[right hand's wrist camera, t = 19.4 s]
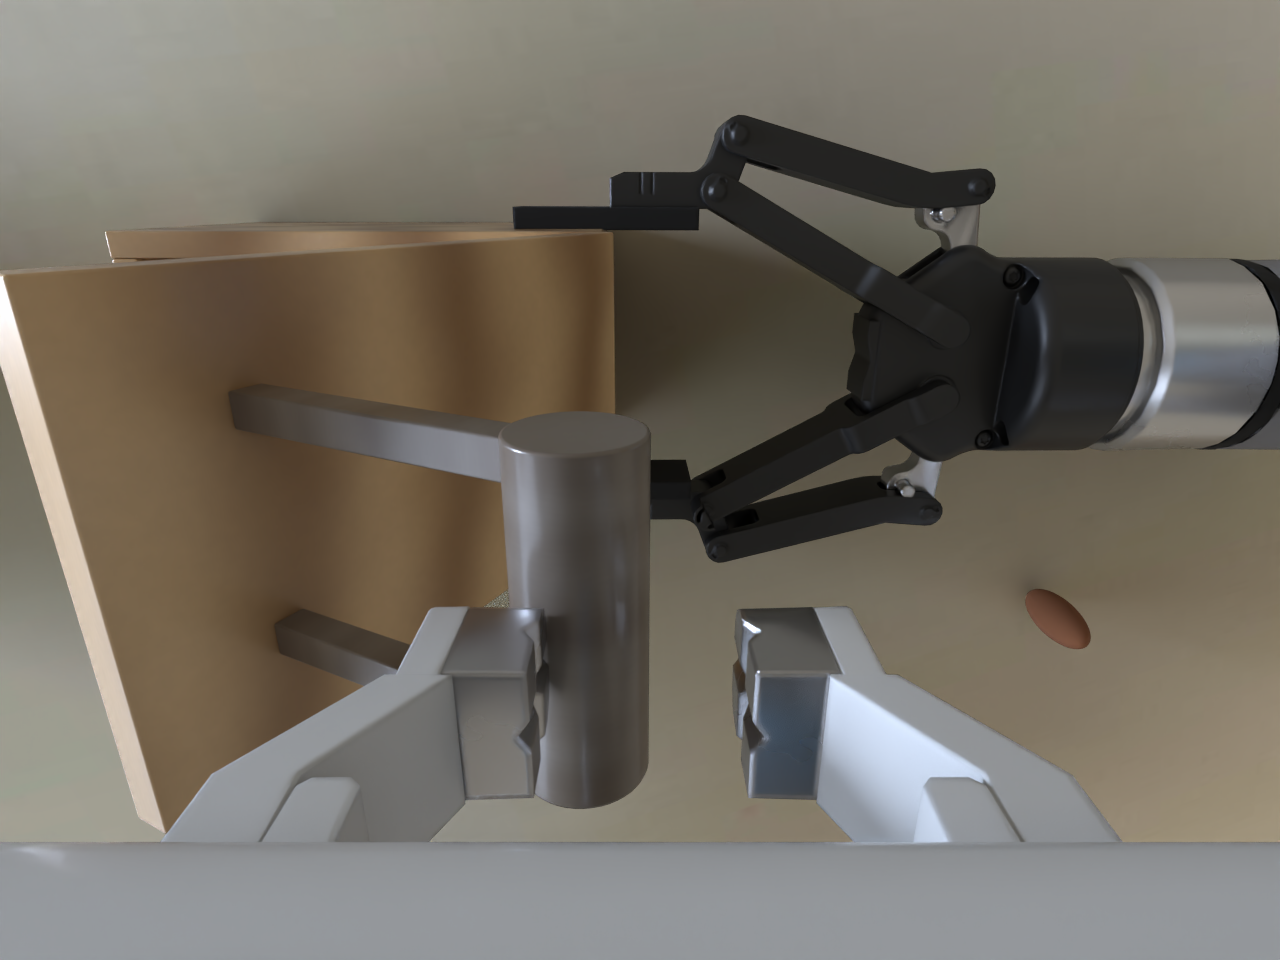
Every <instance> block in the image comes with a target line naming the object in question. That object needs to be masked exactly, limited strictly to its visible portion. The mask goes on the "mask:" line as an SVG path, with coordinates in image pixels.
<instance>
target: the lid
mask: <svg viewBox="0 0 1280 960" xmlns="http://www.w3.org/2000/svg"><path fill="white" fill-rule="evenodd" d="M0 365H1V368H2V372H3V375H4V378H5V382H6V385H7V388H8V391H9V395H10V398H11V401H12V404H13V408H14V411H15V414H16V418H17V421H18V424H19V427H20V431H21V434H22V437H23V440H24V444H25V447H26V450H27V453H28V457H29V460H30V463H31V467H32V470H33V473H34V476H35V480H36V483H37V486H38V489H39V493H40V496H41V499H42V503H43V506H44V509H45V512H46V516H47V519H48V522H49V525H50V529H51V532H52V535H53V539H54V542H55V545H56V548H57V552H58V555H59V558H60V561H61V565H62V568H63V571H64V575H65V578H66V581H67V584H68V588H69V591H70V594H71V597H72V601H73V604H74V607H75V611H76V614H77V617H78V620H79V624H80V627H81V630H82V633H83V637H84V640H85V643H86V646H87V650H88V653H89V656H90V660H91V663H92V666H93V669H94V673H95V676H96V679H97V682H98V686H99V689H100V692H101V696H102V699H103V702H104V705H105V709H106V712H107V715H108V718H109V722H110V725H111V728H112V732H113V735H114V738H115V741H116V745H117V748H118V751H119V754H120V758H121V761H122V764H123V768H124V771H125V774H126V777H127V781H128V784H129V787H130V790H131V794H132V797H133V800H134V804H135V807H136V810H137V813H138V817H139V818H140V819H142V820H143V821H145V822H147V823H148V824H150V825H152V826H153V827H155V828H157V829H158V830H160V831H162V832H164V833H165V834H167V833H168V831H169V830H170V829H171V827H172V826H173V825H174V823H175V822H176V821H177V819H178V818H179V817H180V815H181V814H182V813H183V811H184V810H185V809H186V807H187V806H188V805H189V803H190V802H191V801H192V799H193V798H194V797H195V795H196V794H197V793H198V791H199V790H200V789H201V787H202V786H203V785H204V783H205V782H206V781H207V779H208V778H209V777H210V775H211V774H212V773H214V772H216V771H218V770H219V769H221V768H223V767H225V766H226V765H228V764H230V763H232V762H233V761H235V760H237V759H238V758H240V757H242V756H244V755H245V754H247V753H249V752H251V751H252V750H254V749H256V748H258V747H259V746H261V745H263V744H265V743H266V742H268V741H270V740H272V739H273V738H275V737H277V736H278V735H280V734H282V733H284V732H285V731H287V730H289V729H291V728H292V727H294V726H296V725H298V724H299V723H301V722H303V721H305V720H306V719H308V718H310V717H311V716H313V715H315V714H317V713H318V712H320V711H322V710H324V709H325V708H327V707H329V706H331V705H332V704H334V703H336V702H338V701H339V700H341V699H343V698H344V697H346V696H348V695H350V694H351V693H353V692H355V691H357V690H358V689H360V688H362V687H364V686H365V685H367V684H369V683H371V682H372V681H374V680H376V679H378V678H379V677H381V676H383V675H395V674H396V673H397V671H398V669H399V667H400V665H401V663H402V661H403V659H404V657H405V655H406V653H407V651H408V650H409V648H410V646H411V644H412V642H413V640H414V638H415V636H416V634H417V632H418V630H419V628H420V627H421V625H422V623H423V621H424V619H425V617H426V615H427V613H428V611H429V610H430V609H431V608H434V607H460V606H468V607H470V608H472V607H484V606H485V605H487V604H488V603H489V602H491V601H492V600H494V599H495V598H496V597H498V596H499V595H501V594H502V593H503V592H505V591H506V590H507V589H508V592H509V606H510V608H544V611H545V615H546V626H547V641H546V646H545V651H544V656H543V659H544V660H545V662H546V663H547V664H548V665H549V709H548V721H547V727H546V734H545V736H544V737H543V738H541V739H540V751H541V762H540V767H539V773H538V778H537V783H536V789H535V794H536V795H537V796H538V797H540V798H541V799H543V800H545V801H547V802H549V803H551V804H554V805H557V806H561V807H565V808H573V809H587V808H595V807H601V806H604V805H608V804H611V803H613V802H615V801H618V800H620V799H621V798H623V797H625V796H626V795H628V794H629V793H630V792H632V791H633V790H634V789H635V788H636V787H637V786H638V784H639V783H640V782H641V780H642V779H643V777H644V775H645V773H646V770H647V767H648V752H649V612H650V472H651V433H650V431H649V428H648V427H647V426H646V425H645V424H643V423H642V422H640V421H638V420H635V419H633V418H629V417H626V416H622V415H617V414H615V338H614V242H613V233H612V232H581V233H566V234H550V235H535V236H520V237H504V238H489V239H474V240H458V241H443V242H428V243H412V244H397V245H382V246H366V247H351V248H336V249H320V250H305V251H290V252H274V253H259V254H244V255H228V256H213V257H198V258H182V259H167V260H152V261H136V262H121V263H106V264H90V265H75V266H60V267H44V268H29V269H14V270H0Z"/></svg>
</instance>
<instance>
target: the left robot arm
mask: <svg viewBox="0 0 1280 960" xmlns="http://www.w3.org/2000/svg"><path fill="white" fill-rule="evenodd" d="M745 163H748V164H752V165H755V166H758V167H762V168H765V169H768V170H772V171H775V172H778V173H782V174H785V175H788V176H792V177H795V178H798V179H802V180H805V181H808V182H812V183H815V184H818V185H822V186H825V187H828V188H832V189H835V190H838V191H842V192H845V193H848V194H852V195H855V196H858V197H862V198H865V199H868V200H872V201H875V202H878V203H882V204H885V205H890V206H894V207H904V208H915V214H914V215H915V220H916V223H917V224H918V225H919V227H921V228H923V229H927V230H931V231H934V232H935V233H936V234H937V235H938V236H939V238H940V240H941V247H940V248H938V249H937V250H935V251H934V252H932V253H931V254H929V255H928V256H926V257H925V258H924V259H922V260H921V261H919V262H918V263H916V264H915V265H913V266H912V267H910V268H909V269H908V270H906V271H905V272H903V273H902V274H900V275H899V276H897V277H896V276H895V275H893V274H892V273H890V272H888V271H886V270H885V269H883V268H881V267H879V266H877V265H875V264H873V263H871V262H869V261H868V260H866V259H864V258H863V257H861V256H860V255H858V254H856V253H855V252H853V251H851V250H850V249H848V248H846V247H845V246H843V245H842V244H840V243H838V242H837V241H835V240H833V239H832V238H830V237H828V236H827V235H825V234H824V233H822V232H820V231H819V230H817V229H815V228H814V227H812V226H810V225H809V224H807V223H806V222H804V221H802V220H801V219H799V218H797V217H796V216H794V215H792V214H791V213H789V212H788V211H786V210H784V209H783V208H781V207H779V206H778V205H776V204H774V203H773V202H771V201H770V200H768V199H766V198H765V197H763V196H761V195H760V194H758V193H756V192H755V191H753V190H752V189H750V188H748V187H747V186H745V185H743V184H742V183H740V182H738V181H739V179H740V176H741V173H742V171H743V168H744V166H745ZM995 186H996V185H995V178H994V176H993V174H992V173H991V172H990V171H988V170H987V169H968V170H956V171H945V172H934V173H931V172H927V171H924V170H921V169H918V168H914V167H911V166H908V165H905V164H901V163H898V162H895V161H892V160H888V159H885V158H882V157H879V156H875V155H872V154H869V153H866V152H862V151H859V150H856V149H853V148H849V147H846V146H843V145H840V144H836V143H833V142H830V141H827V140H823V139H820V138H817V137H814V136H810V135H807V134H804V133H801V132H797V131H794V130H791V129H788V128H784V127H781V126H778V125H775V124H771V123H768V122H765V121H762V120H758V119H755V118H752V117H749V116H745V115H737V116H734V117H732V118H730V119H729V120H728V121H726V122H725V123H723V124H722V125H721V126H720V127H719V128H718V129H717V131H716V133H715V138H714V141H713V144H712V147H711V150H710V152H709V155H708V158H707V160H706V162H705V164H704V165H703V166H702V167H701V168H700V169H699V170H697V171H695V172H623V173H621V174H618V175H616V176H614V177H611V178H610V207H597V206H518V207H513V222H514V229H603V230H699V209H708V210H710V211H711V212H713V213H715V214H716V215H718V216H720V217H721V218H723V219H725V220H726V221H728V222H730V223H731V224H733V225H735V226H736V227H738V228H740V229H741V230H743V231H745V232H746V233H748V234H750V235H751V236H753V237H755V238H757V239H758V240H760V241H762V242H763V243H765V244H767V245H768V246H770V247H772V248H773V249H775V250H777V251H778V252H780V253H782V254H783V255H785V256H787V257H788V258H790V259H792V260H793V261H795V262H797V263H798V264H800V265H802V266H803V267H805V268H807V269H808V270H810V271H812V272H813V273H815V274H817V275H818V276H820V277H822V278H823V279H825V280H827V281H828V282H830V283H832V284H833V285H835V286H837V287H838V288H839V289H841V290H843V291H844V292H846V293H847V294H849V295H851V296H853V297H854V298H856V299H858V300H859V301H861V302H863V303H864V304H863V306H862V308H861V309H860V312H859V313H854V322H853V339H854V345H855V354H854V357H853V360H852V362H851V365H850V368H849V371H848V380H847V389H848V390H849V391H850V392H851V393H850V394H848V395H846V396H844V397H842V398H840V399H838V400H836V401H835V402H833V403H831V404H829V405H828V406H827V407H826V409H825V410H824V411H823V412H822V413H820V414H818V415H816V416H814V417H812V418H810V419H808V420H806V421H805V422H803V423H801V424H799V425H797V426H795V427H793V428H791V429H789V430H787V431H785V432H783V433H781V434H779V435H777V436H775V437H773V438H771V439H769V440H767V441H765V442H763V443H761V444H759V445H758V446H756V447H754V448H752V449H750V450H748V451H746V452H744V453H742V454H740V455H738V456H736V457H734V458H732V459H730V460H728V461H726V462H724V463H722V464H720V465H718V466H716V467H714V468H712V469H711V470H709V471H707V472H705V473H703V474H701V475H699V476H697V477H695V478H693V479H692V480H691V479H690V475H689V471H688V467H687V463H686V460H651V472H650V519H685V520H688V521H691V522H692V523H694V524H695V525H696V526H697V528H698V530H699V532H700V535H701V538H702V541H703V543H704V546H705V549H706V553H707V555H708V557H709V558H710V559H711V560H712V561H714V562H718V563H720V562H727V561H731V560H735V559H739V558H743V557H747V556H751V555H755V554H759V553H763V552H767V551H772V550H776V549H780V548H784V547H788V546H792V545H796V544H800V543H804V542H808V541H812V540H816V539H821V538H825V537H829V536H833V535H837V534H841V533H845V532H849V531H853V530H857V529H861V528H865V527H869V526H874V525H878V524H882V523H897V524H910V525H924V526H925V525H931V524H934V523H936V522H937V521H938V520H939V519H940V517H941V515H942V506H941V504H940V503H939V502H938V501H937V500H936V499H935V498H934V494H935V490H936V486H937V482H938V478H939V474H940V470H941V466H942V462H943V461H946V460H949V459H951V458H953V457H955V456H957V455H959V454H961V453H964V452H967V451H971V450H996V451H1008V450H1079V449H1083V448H1086V447H1089V448H1091V449H1097V450H1103V451H1109V450H1154V449H1280V260H1241V259H1228V258H1117V259H1112V260H1109V261H1104V260H1102V259H1098V258H1002V257H995V256H993V255H991V254H989V253H988V252H986V251H985V250H983V249H982V248H980V247H977V241H978V228H979V214H980V204H983V203H985V202H986V201H987V200H989V199H990V197H991V196H992V194H993V193H994V189H995ZM893 438H895V439H896V440H898V441H899V442H900V443H902V444H903V445H904V446H906V447H907V448H908V449H910V450H911V451H912V453H911V455H910V457H909V458H908V460H906V461H905V462H904V463H902V464H898V465H893V466H888V467H886V468H884V469H883V472H882V475H881V476H865V477H859V478H854V479H849V480H845V481H841V482H837V483H833V484H829V485H825V486H821V487H817V488H813V489H809V490H805V491H801V492H797V493H793V494H789V495H785V496H781V497H777V498H773V499H769V500H765V501H761V502H757V503H753V502H755V501H757V500H759V499H761V498H763V497H765V496H767V495H769V494H771V493H773V492H775V491H777V490H779V489H781V488H783V487H785V486H787V485H789V484H791V483H793V482H795V481H797V480H799V479H801V478H803V477H805V476H807V475H809V474H811V473H813V472H815V471H817V470H819V469H821V468H823V467H825V466H827V465H829V464H831V463H833V462H835V461H837V460H839V459H841V458H843V457H845V456H847V455H849V454H860V453H864V452H867V451H869V450H871V449H873V448H875V447H877V446H879V445H881V444H883V443H885V442H887V441H889V440H891V439H893ZM751 503H753V504H751Z"/></svg>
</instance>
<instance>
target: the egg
mask: <svg viewBox="0 0 1280 960" xmlns="http://www.w3.org/2000/svg"><path fill="white" fill-rule="evenodd" d="M1025 603H1026V608H1027V611H1028V613H1029V615H1030V617H1031V618H1032V620H1033V621H1034V623H1035V624H1036V625H1037V626H1038V627H1039V628H1040V630H1041V631H1042V632H1044V633H1045V634H1046V635H1047V636H1048V637H1050V638H1051V639H1052V640H1054V641H1055V642H1057V643H1059V644H1061V645H1063V646H1065V647H1068V648H1072V649H1082V648H1085V647H1086V646H1087V645H1088V644H1089V643H1090V638H1091V637H1090V631H1089V628H1088V625H1087V623H1086V622H1085V620H1084V618H1083V617H1082V616H1081V614H1080V613H1079V612H1078V611H1077V610H1076V609H1075V608H1074V607H1073V606H1072V605H1071V604H1070V603H1069V602H1067V601H1066V600H1065V599H1063V598H1062V597H1060V596H1059V595H1057V594H1055V593H1053V592H1050V591H1047V590H1043V589H1034V590H1031V591H1030V592H1029V593H1028V594H1027V595H1026V599H1025Z"/></svg>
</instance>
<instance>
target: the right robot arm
mask: <svg viewBox="0 0 1280 960" xmlns="http://www.w3.org/2000/svg"><path fill="white" fill-rule="evenodd" d="M734 637H735V642H736V647H737V652H738V657H739V659H738V660H737V661H736V662H735V664H734V665H733V681H732V695H733V714H734V723H735V729H736V735H737V736H738V737H739V738H740V739H742V748H741V762H742V768H743V773H744V778H745V783H746V788H747V794H748V798H770V799H806V800H817V802H816V803H817V804H818V805H819V806H820V807H821V808H822V809H823V810H824V811H825V812H826V813H827V814H828V815H829V816H830V817H831V819H832V820H833V821H834V822H835V823H836V824H837V825H838V826H839V827H840V828H841V829H842V830H843V831H844V832H845V833H846V834H847V835H848V836H849V837H850V838H851V839H852V840H853V841H854V842H429V841H430V840H431V839H432V838H433V837H434V836H435V835H436V834H437V833H438V832H439V831H440V830H441V828H442V827H443V826H444V825H445V824H446V823H447V822H448V821H449V820H450V819H451V818H452V817H453V816H454V815H455V814H456V813H457V812H458V811H459V810H460V809H461V808H462V807H463V806H464V805H465V800H475V799H510V798H534V794H535V789H536V783H537V778H538V773H539V767H540V762H541V751H540V739H541V738H543V737H544V736H545V734H546V727H547V721H548V709H549V665H548V664H547V663H546V662H545V660H544V659H543V656H544V651H545V646H546V641H547V626H546V615H545V611H544V608H497V607H472V608H470V607H468V606H460V607H434V608H431V609H430V610H429V611H428V613H427V615H426V617H425V619H424V621H423V623H422V625H421V627H420V628H419V630H418V632H417V634H416V636H415V638H414V640H413V642H412V644H411V646H410V648H409V650H408V651H407V653H406V655H405V657H404V659H403V661H402V663H401V665H400V667H399V669H398V671H397V673H396V674H395V675H383V676H381V677H379V678H378V679H376V680H374V681H372V682H371V683H369V684H367V685H365V686H364V687H362V688H360V689H358V690H357V691H355V692H353V693H351V694H350V695H348V696H346V697H344V698H343V699H341V700H339V701H338V702H336V703H334V704H332V705H331V706H329V707H327V708H325V709H324V710H322V711H320V712H318V713H317V714H315V715H313V716H311V717H310V718H308V719H306V720H305V721H303V722H301V723H299V724H298V725H296V726H294V727H292V728H291V729H289V730H287V731H285V732H284V733H282V734H280V735H278V736H277V737H275V738H273V739H272V740H270V741H268V742H266V743H265V744H263V745H261V746H259V747H258V748H256V749H254V750H252V751H251V752H249V753H247V754H245V755H244V756H242V757H240V758H238V759H237V760H235V761H233V762H232V763H230V764H228V765H226V766H225V767H223V768H221V769H219V770H218V771H216V772H214V773H212V774H211V775H210V777H209V778H208V779H207V781H206V782H205V783H204V785H203V786H202V787H201V789H200V790H199V791H198V793H197V794H196V795H195V797H194V798H193V799H192V801H191V802H190V803H189V805H188V806H187V807H186V809H185V810H184V811H183V813H182V814H181V815H180V817H179V818H178V819H177V821H176V822H175V823H174V825H173V826H172V827H171V829H170V830H169V831H168V833H167V834H166V835H165V836H164V838H163V839H162V840H161V842H0V960H1280V842H1122V840H1121V839H1120V838H1119V836H1118V835H1117V834H1116V832H1115V831H1114V830H1113V828H1112V827H1111V826H1110V824H1109V823H1108V822H1107V820H1106V819H1105V818H1104V816H1103V815H1102V814H1101V812H1100V811H1099V810H1098V808H1097V807H1096V806H1095V804H1094V803H1093V802H1092V800H1091V799H1090V798H1089V796H1088V795H1087V794H1086V792H1085V791H1084V790H1083V789H1082V787H1081V786H1080V785H1079V783H1078V782H1077V781H1076V779H1075V778H1074V777H1073V775H1071V774H1070V773H1068V772H1066V771H1064V770H1063V769H1061V768H1059V767H1057V766H1056V765H1054V764H1052V763H1051V762H1049V761H1047V760H1045V759H1044V758H1042V757H1040V756H1038V755H1037V754H1035V753H1033V752H1031V751H1030V750H1028V749H1026V748H1024V747H1023V746H1021V745H1019V744H1018V743H1016V742H1014V741H1012V740H1011V739H1009V738H1007V737H1005V736H1004V735H1002V734H1000V733H998V732H997V731H995V730H993V729H991V728H990V727H988V726H986V725H985V724H983V723H981V722H979V721H978V720H976V719H974V718H972V717H971V716H969V715H967V714H965V713H964V712H962V711H960V710H959V709H957V708H955V707H953V706H952V705H950V704H948V703H946V702H945V701H943V700H941V699H939V698H938V697H936V696H934V695H932V694H931V693H929V692H927V691H926V690H924V689H922V688H920V687H919V686H917V685H915V684H913V683H912V682H910V681H908V680H906V679H905V678H903V677H901V676H899V675H887V674H886V672H885V670H884V669H883V667H882V665H881V663H880V661H879V659H878V657H877V655H876V654H875V652H874V650H873V648H872V646H871V644H870V642H869V640H868V639H867V637H866V635H865V633H864V631H863V629H862V627H861V625H860V624H859V622H858V620H857V618H856V616H855V614H854V612H853V610H852V609H851V608H849V607H847V606H837V607H814V608H813V607H801V608H760V609H739V610H737V614H736V621H735V636H734Z"/></svg>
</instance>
